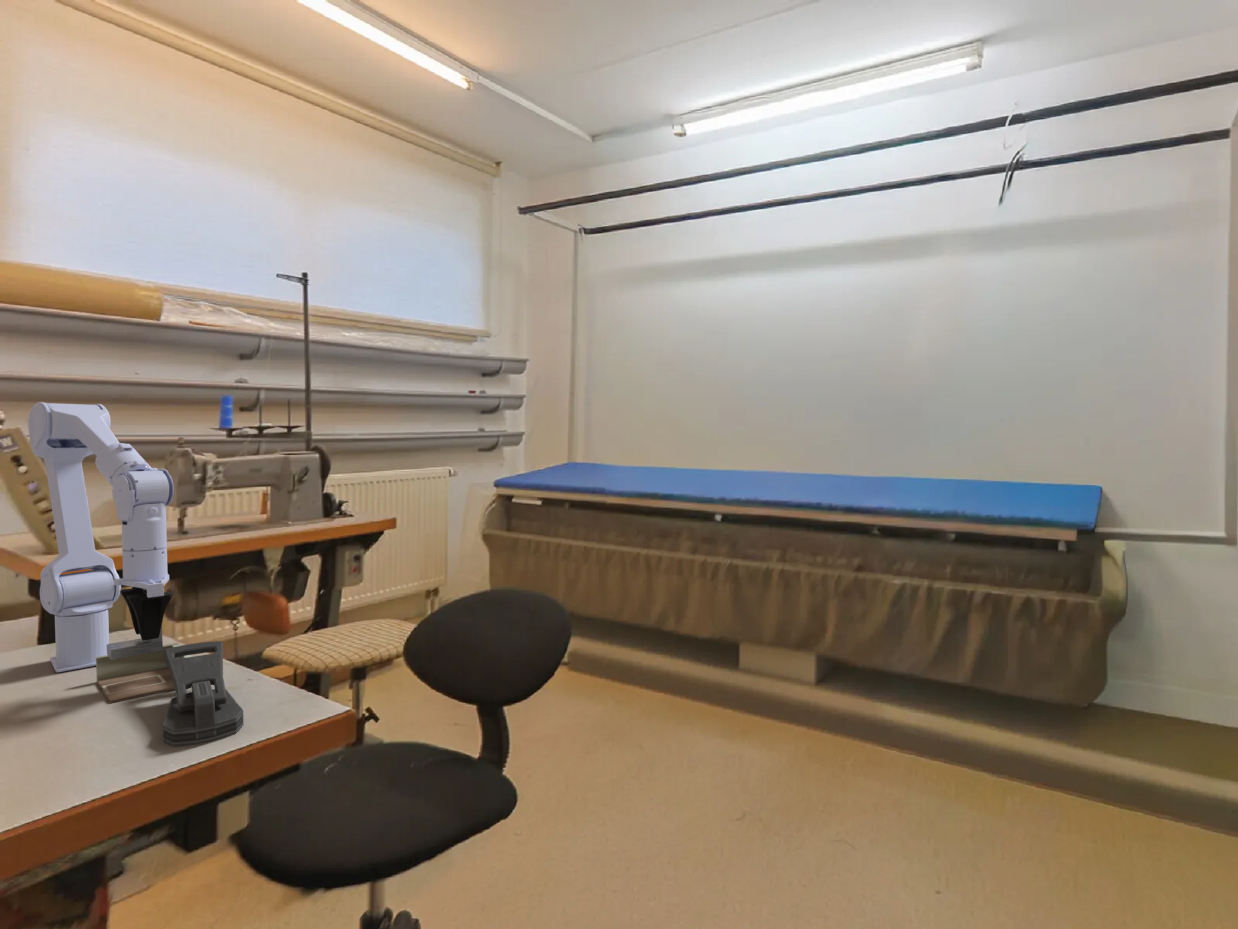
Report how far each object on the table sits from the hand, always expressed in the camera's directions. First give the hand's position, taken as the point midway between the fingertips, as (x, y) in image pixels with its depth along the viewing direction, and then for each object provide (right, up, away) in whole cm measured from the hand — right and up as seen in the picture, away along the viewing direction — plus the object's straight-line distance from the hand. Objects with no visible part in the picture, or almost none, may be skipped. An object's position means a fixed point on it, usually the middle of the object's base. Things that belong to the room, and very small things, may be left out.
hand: (147, 636), depth 108 cm
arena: (-1, -8, +1) cm, 8 cm away
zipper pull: (+14, -8, -10) cm, 19 cm away
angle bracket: (-1, -2, -1) cm, 3 cm away
